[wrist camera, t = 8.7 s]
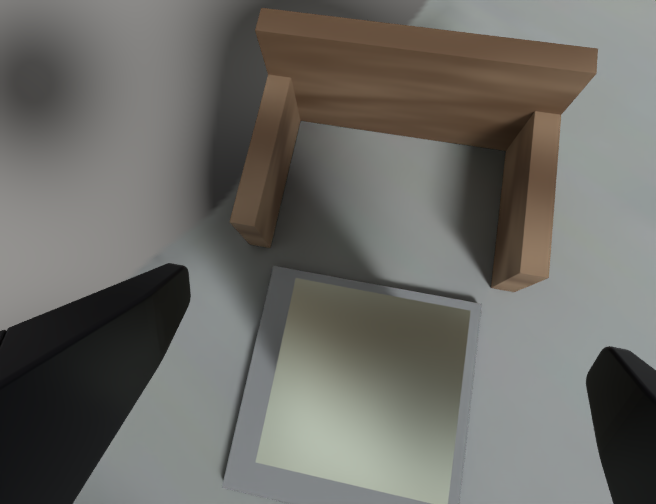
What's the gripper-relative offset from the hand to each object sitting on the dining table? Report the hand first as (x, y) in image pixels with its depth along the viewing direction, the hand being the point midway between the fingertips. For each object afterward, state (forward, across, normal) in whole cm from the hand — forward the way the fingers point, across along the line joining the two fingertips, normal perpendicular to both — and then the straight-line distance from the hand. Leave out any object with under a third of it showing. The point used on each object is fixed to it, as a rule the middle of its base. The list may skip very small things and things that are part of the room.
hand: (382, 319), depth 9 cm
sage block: (+8, 0, +10) cm, 13 cm away
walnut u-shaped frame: (+15, 0, +4) cm, 15 cm away
